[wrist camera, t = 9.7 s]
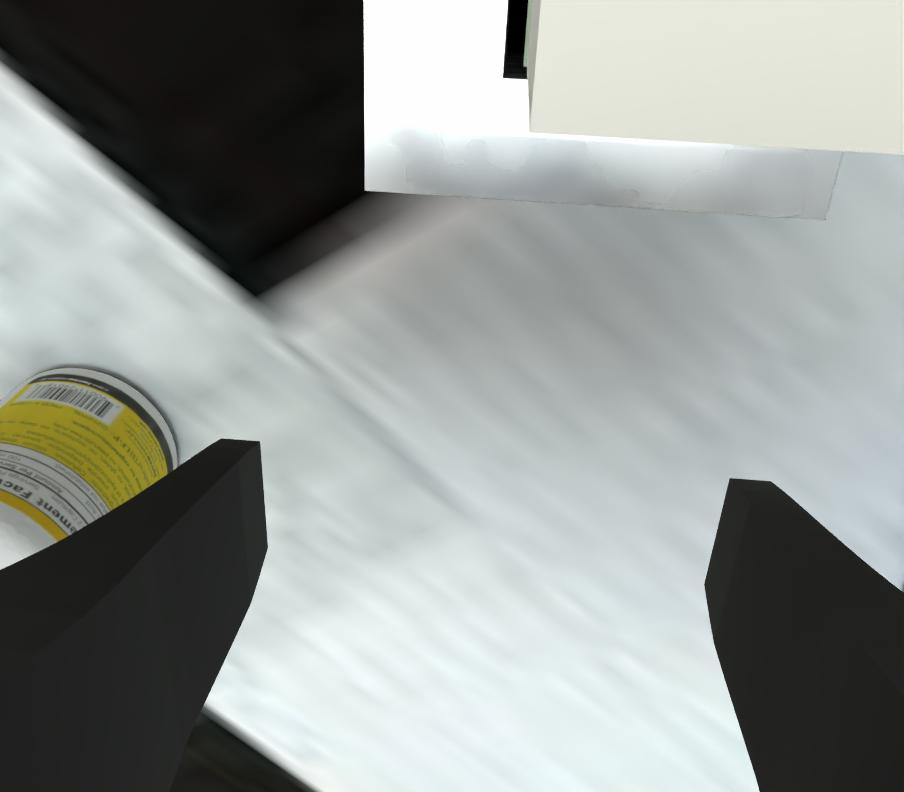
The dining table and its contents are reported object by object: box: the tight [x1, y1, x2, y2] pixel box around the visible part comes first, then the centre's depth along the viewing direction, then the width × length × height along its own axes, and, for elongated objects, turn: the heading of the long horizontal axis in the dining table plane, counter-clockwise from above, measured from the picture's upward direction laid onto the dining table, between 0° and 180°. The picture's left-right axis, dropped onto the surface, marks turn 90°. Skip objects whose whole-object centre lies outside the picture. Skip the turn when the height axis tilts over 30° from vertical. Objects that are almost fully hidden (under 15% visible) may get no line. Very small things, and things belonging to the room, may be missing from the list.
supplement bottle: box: [0, 368, 177, 570], centre depth 21 cm, size 5×5×10 cm
